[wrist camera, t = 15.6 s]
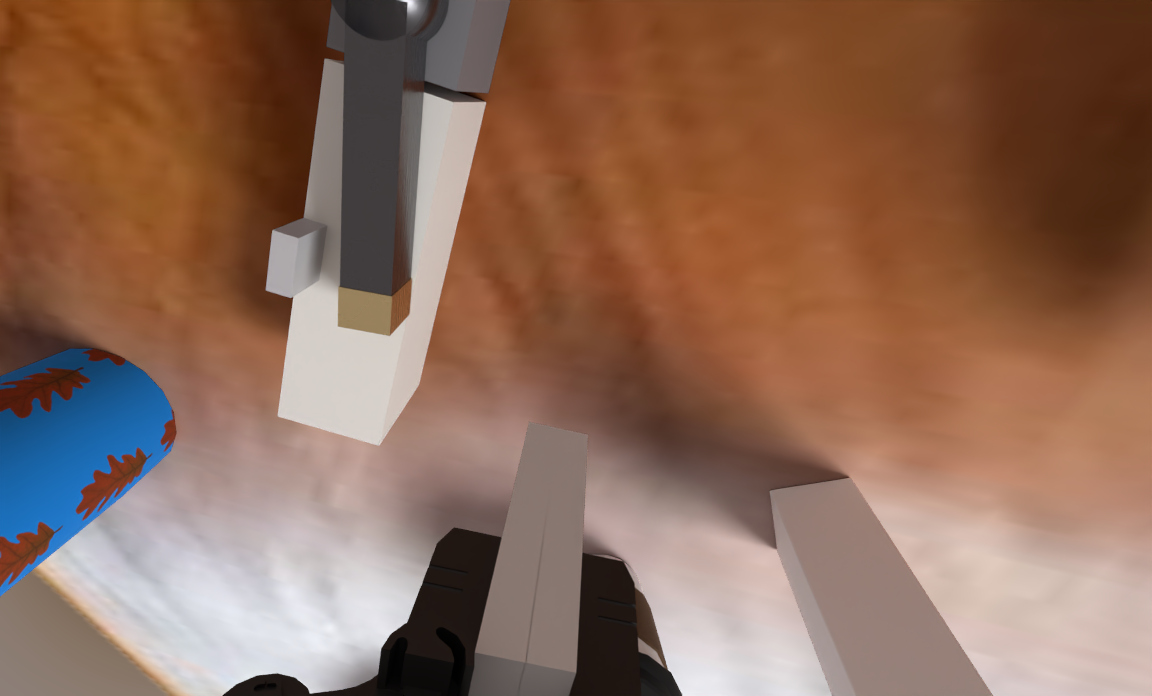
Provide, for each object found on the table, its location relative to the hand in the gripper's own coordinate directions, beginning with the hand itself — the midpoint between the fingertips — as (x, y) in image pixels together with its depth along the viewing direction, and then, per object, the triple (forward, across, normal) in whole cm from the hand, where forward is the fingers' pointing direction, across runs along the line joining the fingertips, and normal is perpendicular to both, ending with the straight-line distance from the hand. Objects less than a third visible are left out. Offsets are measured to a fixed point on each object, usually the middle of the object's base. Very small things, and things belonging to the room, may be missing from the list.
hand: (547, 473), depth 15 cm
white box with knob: (+24, -11, +1) cm, 27 cm away
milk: (+25, +22, -16) cm, 37 cm away
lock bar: (+16, -10, +5) cm, 19 cm away
